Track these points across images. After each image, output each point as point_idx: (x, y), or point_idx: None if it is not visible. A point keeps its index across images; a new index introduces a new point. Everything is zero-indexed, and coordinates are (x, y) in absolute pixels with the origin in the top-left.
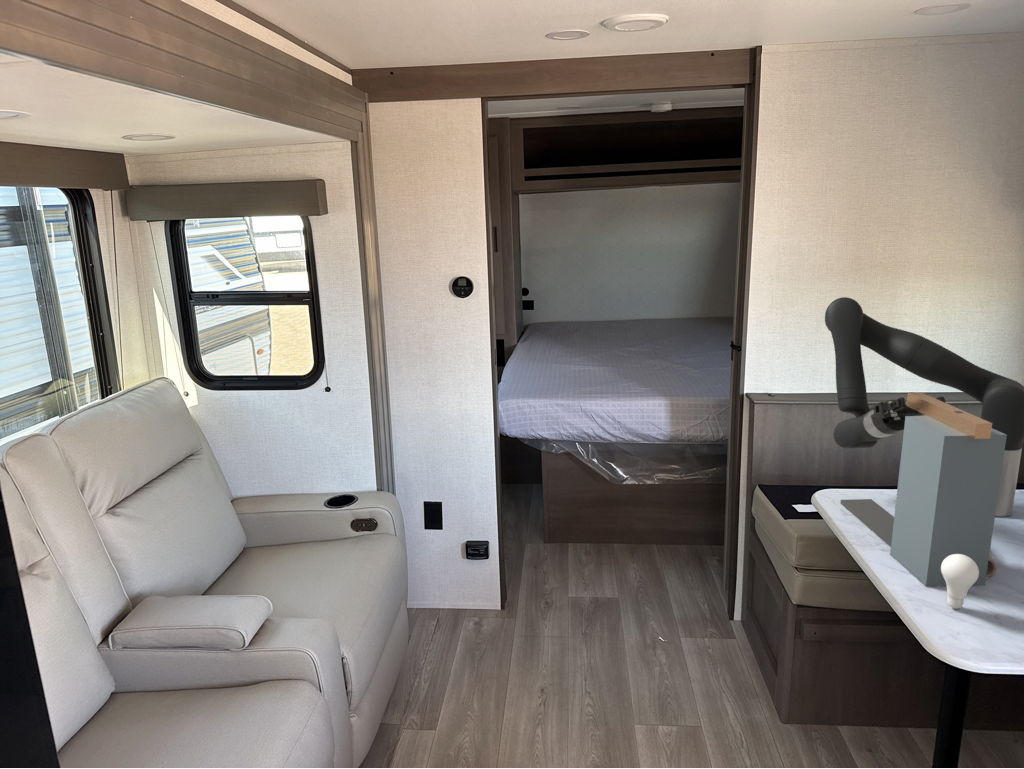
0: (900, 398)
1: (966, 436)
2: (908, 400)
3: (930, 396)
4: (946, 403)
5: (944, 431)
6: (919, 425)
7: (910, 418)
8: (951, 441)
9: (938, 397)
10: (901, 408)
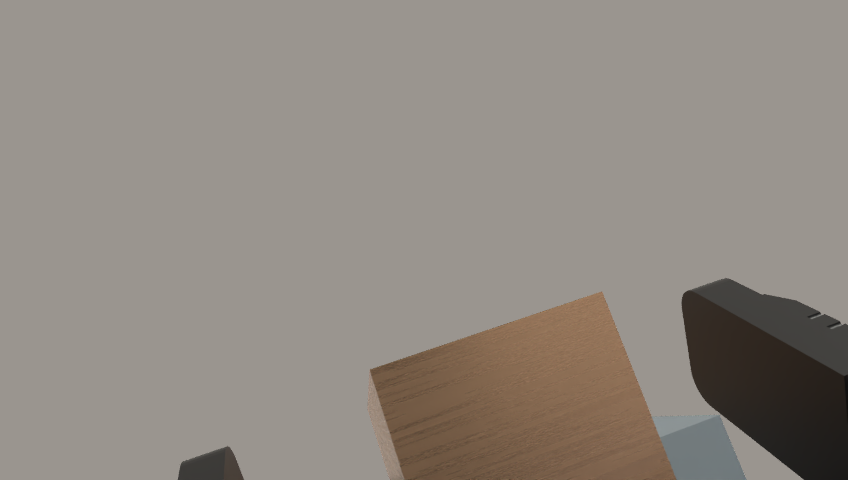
0: (727, 290)
1: None
2: (635, 420)
3: (369, 385)
4: (368, 397)
5: None
6: None
7: (683, 416)
8: None
9: (227, 467)
10: (759, 429)
